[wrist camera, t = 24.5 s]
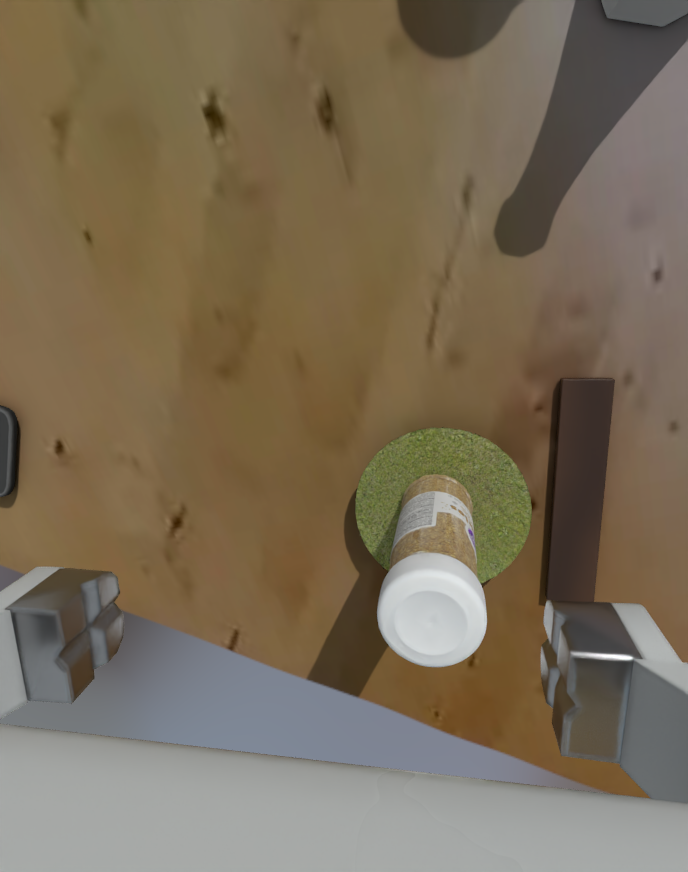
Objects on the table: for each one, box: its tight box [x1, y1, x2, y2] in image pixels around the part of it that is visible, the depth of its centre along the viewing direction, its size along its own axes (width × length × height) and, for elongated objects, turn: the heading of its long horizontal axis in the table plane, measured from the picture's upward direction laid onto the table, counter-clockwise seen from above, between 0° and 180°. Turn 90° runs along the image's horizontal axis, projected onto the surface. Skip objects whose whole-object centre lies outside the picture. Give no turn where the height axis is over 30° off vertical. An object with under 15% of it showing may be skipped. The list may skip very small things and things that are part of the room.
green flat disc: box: [355, 427, 532, 584], centre depth 36 cm, size 11×11×2 cm
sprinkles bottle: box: [377, 474, 487, 667], centre depth 29 cm, size 5×5×13 cm
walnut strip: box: [545, 378, 615, 602], centre depth 35 cm, size 3×15×1 cm, turn 1°
